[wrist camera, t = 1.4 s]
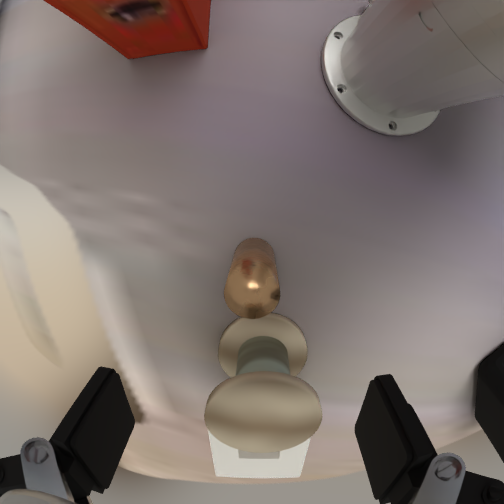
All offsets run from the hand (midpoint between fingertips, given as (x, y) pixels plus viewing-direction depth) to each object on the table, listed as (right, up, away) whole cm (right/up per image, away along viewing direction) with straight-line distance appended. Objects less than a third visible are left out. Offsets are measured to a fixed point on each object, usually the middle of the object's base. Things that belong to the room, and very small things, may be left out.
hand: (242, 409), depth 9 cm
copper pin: (+1, +5, +17) cm, 18 cm away
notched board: (+1, -19, +24) cm, 31 cm away
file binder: (-7, +32, +9) cm, 34 cm away
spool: (+1, -4, +20) cm, 20 cm away
